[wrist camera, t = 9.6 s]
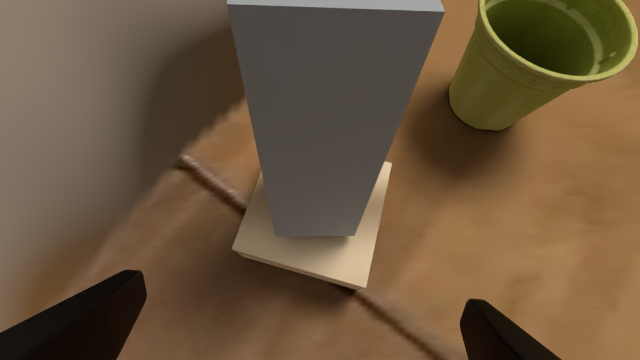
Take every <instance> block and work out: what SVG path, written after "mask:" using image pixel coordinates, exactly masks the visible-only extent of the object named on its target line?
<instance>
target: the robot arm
mask: <svg viewBox="0 0 640 360" xmlns="http://www.w3.org/2000/svg"><path fill="white" fill-rule="evenodd" d="M146 297H147V292H146V287H145V282H144V276H143V273H142V272H141V271H139V270H123V271H121V272H119V273H117V274H115V275H113V276H111V277H109V278H108V279H106V280H104V281H102V282H100V283H98V284H96V285H94V286H92V287H90V288H88V289H86V290H84V291H82V292H80V293H78V294H76V295H74V296H72V297H70V298H68V299H66V300H64V301H62V302H60V303H58V304H56V305H54V306H52V307H50V308H48V309H46V310H44V311H42V312H40V313H38V314H36V315H34V316H32V317H31V318H29V319H27V320H25V321H23V322H21V323H19V324H17V325H15V326H13V327H11V328H9V329H7V330H5V331H3V332H1V333H0V360H116V359H117V357H118V356H119V354H120V352H121V350H122V348H123V346H124V344H125V342H126V340H127V338H128V336H129V334H130V332H131V330H132V328H133V326H134V324H135V322H136V320H137V318H138V316H139V314H140V312H141V310H142V308H143V305H144V303H145V301H146ZM460 329H461V333H462V337H463V341H464V345H465V348H466V352H467V356H468V360H561V359H560V358H559V357H557V356H556V355H555V354H554V353H552V352H551V351H550V350H548V349H547V348H546V347H545V346H543V345H542V344H541V343H539V342H538V341H537V340H536V339H534V338H533V337H532V336H530V335H529V334H528V333H527V332H525V331H524V330H523V329H521V328H520V327H519V326H518V325H516V324H515V323H514V322H512V321H511V320H510V319H509V318H507V317H506V316H505V315H503V314H502V313H501V312H500V311H498V310H497V309H496V308H494V307H493V306H492V305H491V304H489V303H488V302H487V301H485V300H482V299H469V300H468V301H467V302H466V305H465V308H464V311H463V314H462V317H461V320H460Z"/></svg>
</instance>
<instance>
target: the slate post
mask: <svg viewBox="0 0 640 360" xmlns="http://www.w3.org/2000/svg"><path fill="white" fill-rule="evenodd" d="M227 7H228V12H229V17H230V22H231V26H232V31H233V35H234V41H235V46H236V50H237V55H238V60H239V65H240V70H241V74H242V79H243V84H244V89H245V94H246V99H247V103H248V108H249V113H250V118H251V123H252V127H253V132H254V137H255V142H256V147H257V151H258V156H259V161H260V166H261V171H262V175H263V180H264V185H265V190H266V195H267V199H268V204H269V209H270V214H271V219H272V223H273V228H274V233H275V236H355V233H356V231H357V229H358V226H359V224H360V221H361V219H362V216H363V214H364V211H365V209H366V206H367V204H368V201H369V199H370V196H371V194H372V191H373V189H374V186H375V184H376V181H377V179H378V176H379V174H380V171H381V169H382V167H383V164H384V162H385V159H386V157H387V154H388V152H389V149H390V147H391V144H392V142H393V139H394V137H395V134H396V132H397V129H398V127H399V124H400V122H401V119H402V117H403V114H404V112H405V109H406V107H407V105H408V102H409V100H410V97H411V95H412V92H413V90H414V87H415V85H416V82H417V80H418V77H419V75H420V72H421V70H422V67H423V65H424V62H425V60H426V57H427V55H428V52H429V50H430V47H431V45H432V43H433V40H434V38H435V35H436V33H437V30H438V28H439V25H440V23H441V20H442V18H443V15H444V13H445V11H444V8H443V6H442V3H441V1H440V0H228V1H227Z"/></svg>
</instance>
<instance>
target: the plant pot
mask: <svg viewBox="0 0 640 360" xmlns="http://www.w3.org/2000/svg"><path fill="white" fill-rule="evenodd" d="M637 46H638V32H637V28H636V25H635V21H634V18H633V17H632V15H631V13H630V11H629V10H628V8H627V7H626V6H625V4H624V3H623V2H622V1H621V0H479V1H478V15H477V18H476V22H475V30H474V32H473V34H472V36H471V39H470V41H469V43H468V46H467V48H466V50H465V53H464V55H463V57H462V59H461V62H460V64H459V66H458V68H457V71H456V73H455V75H454V78H453V80H452V82H451V84H450V87H449V98H450V106H451V108H452V110H453V111H454V113H455V114H456V115H457V116H458V117H459V118H460V119H461V120H462V121H463V122H465V123H466V124H468V125H470V126H472V127H474V128H477V129H489V130H502V129H505V128H507V127H509V126H510V125H512V124H514V123H515V122H517V121H519V120H520V119H522V118H523V117H525V116H527V115H528V114H530V113H531V112H533V111H535V110H536V109H538V108H540V107H541V106H543V105H545V104H546V103H548V102H550V101H551V100H553V99H555V98H556V97H558V96H560V95H561V94H563V93H565V92H566V91H568V90H570V89H574V88H577V87H580V86H582V85H585V84H586V83H592V82H597V81H601V80H604V79H606V78H609V77H611V76H613V75H615V74H616V73H618V72H620V71H621V70H622V69H624V68H625V67H626V66H627V65H628V64H629V62H630V61H631V60H632V58H633V57H634V55H635V53H636V50H637Z"/></svg>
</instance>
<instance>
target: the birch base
mask: <svg viewBox="0 0 640 360" xmlns="http://www.w3.org/2000/svg"><path fill="white" fill-rule="evenodd" d="M391 165H392V163H389V162H384V164H383V167H382V169H381V171H380V174H379V176H378V179H377V181H376V184H375V186H374V189H373V191H372V194H371V196H370V199H369V201H368V204H367V206H366V209H365V211H364V214H363V216H362V219H361V221H360V224H359V226H358V229H357V231H356V233H355V236H275V233H274V228H273V223H272V219H271V214H270V209H269V204H268V199H267V195H266V190H265V185H264V180H263V175H262V171H261V173H260V175H259V178H258V181H257V183H256V186H255V189H254V191H253V194H252V197H251V199H250V202H249V204H248V207H247V210H246V212H245V215H244V218H243V220H242V223H241V226H240V228H239V231H238V233H237V236H236V239H235V241H234V244H233V247H232V250H234V251H235V252H237V253H239V254H240V255H242V256H243V257H245V258H249V259H252V260H255V261H259V262H262V263H266V264H269V265H273V266H276V267H279V268H283V269H286V270H290V271H293V272H297V273H300V274H303V275H307V276H310V277H314V278H317V279H321V280H324V281H327V282H331V283H334V284H338V285H341V286H345V287H348V288H351V289H355V290H360V289H364V288H366V285H367V281H368V276H369V271H370V266H371V261H372V257H373V252H374V247H375V242H376V237H377V233H378V228H379V223H380V218H381V213H382V208H383V204H384V199H385V194H386V189H387V184H388V180H389V175H390V170H391Z"/></svg>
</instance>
